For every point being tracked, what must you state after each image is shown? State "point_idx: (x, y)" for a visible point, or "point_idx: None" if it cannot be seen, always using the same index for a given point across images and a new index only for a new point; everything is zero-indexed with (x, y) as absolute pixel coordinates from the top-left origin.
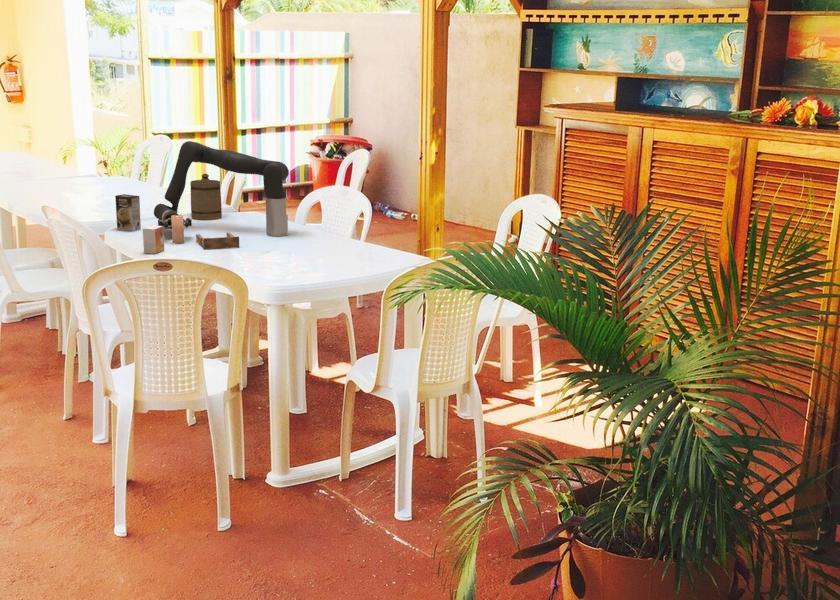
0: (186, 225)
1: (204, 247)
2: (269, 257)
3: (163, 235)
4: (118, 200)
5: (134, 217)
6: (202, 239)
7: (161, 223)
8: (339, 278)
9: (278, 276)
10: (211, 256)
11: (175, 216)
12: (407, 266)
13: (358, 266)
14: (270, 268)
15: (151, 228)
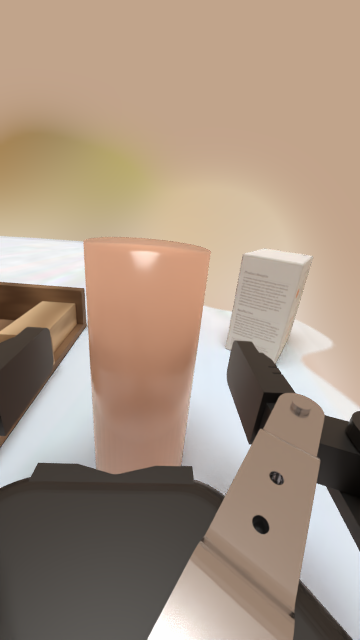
0: (51, 349)
1: (85, 318)
2: (3, 270)
3: (236, 292)
4: None
5: None
6: (50, 331)
7: (335, 422)
8: (28, 240)
9: (81, 249)
10: None
11: (171, 243)
12: None
13: None
14: (64, 256)
15: (279, 251)
